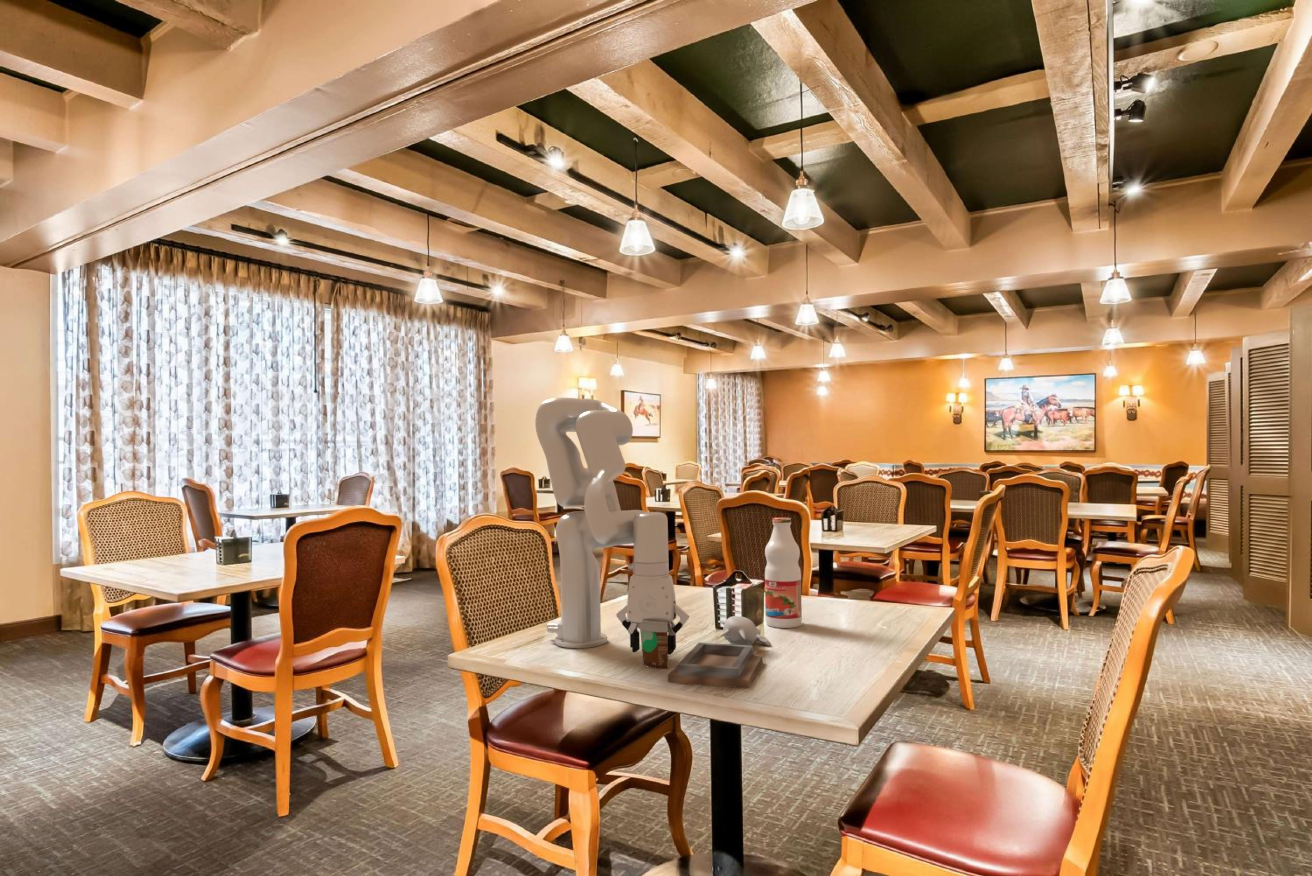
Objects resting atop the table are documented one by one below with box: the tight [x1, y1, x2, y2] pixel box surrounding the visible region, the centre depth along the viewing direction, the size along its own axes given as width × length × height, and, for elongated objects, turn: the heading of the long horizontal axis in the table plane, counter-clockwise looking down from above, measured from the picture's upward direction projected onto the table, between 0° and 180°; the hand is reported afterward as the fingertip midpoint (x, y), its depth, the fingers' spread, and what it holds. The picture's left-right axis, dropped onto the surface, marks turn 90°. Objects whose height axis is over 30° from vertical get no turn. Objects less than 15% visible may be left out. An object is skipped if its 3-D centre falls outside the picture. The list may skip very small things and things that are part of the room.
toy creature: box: [717, 615, 772, 647], centre depth 170 cm, size 13×7×20 cm
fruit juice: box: [764, 517, 803, 629], centre depth 192 cm, size 9×9×28 cm
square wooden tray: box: [667, 642, 763, 689], centre depth 150 cm, size 16×18×4 cm
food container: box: [637, 620, 669, 670], centre depth 157 cm, size 12×6×10 cm, turn 4°
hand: (653, 651), depth 157 cm, fingers open, 7 cm apart
